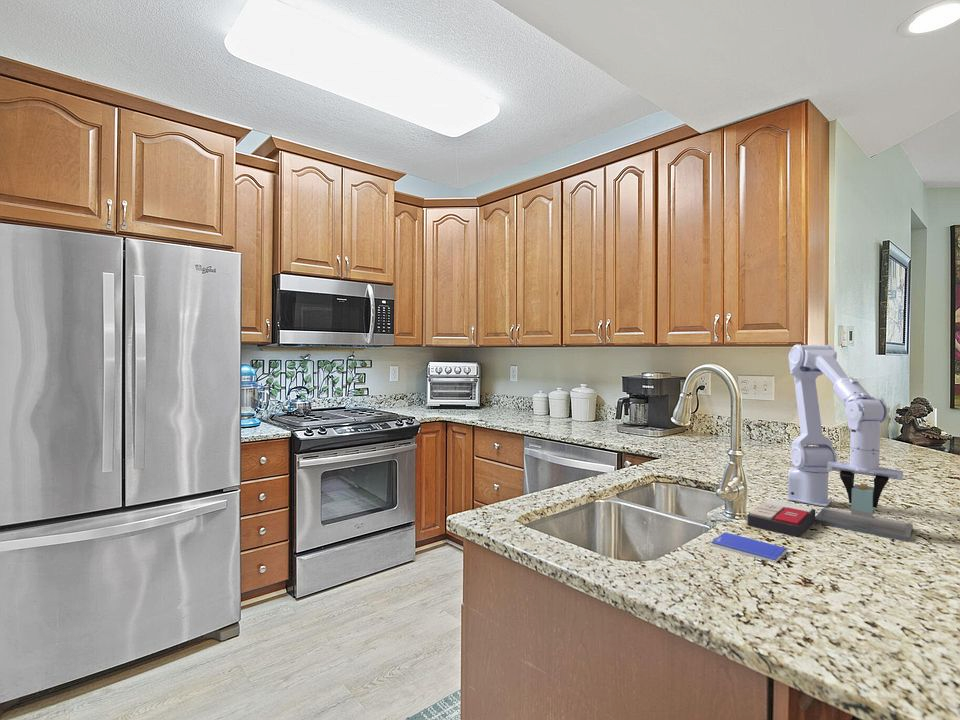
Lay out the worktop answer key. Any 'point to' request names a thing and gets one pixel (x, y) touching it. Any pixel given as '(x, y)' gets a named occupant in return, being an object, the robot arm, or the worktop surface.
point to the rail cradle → (865, 524)
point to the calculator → (782, 518)
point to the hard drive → (749, 547)
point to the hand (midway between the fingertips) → (863, 504)
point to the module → (862, 500)
